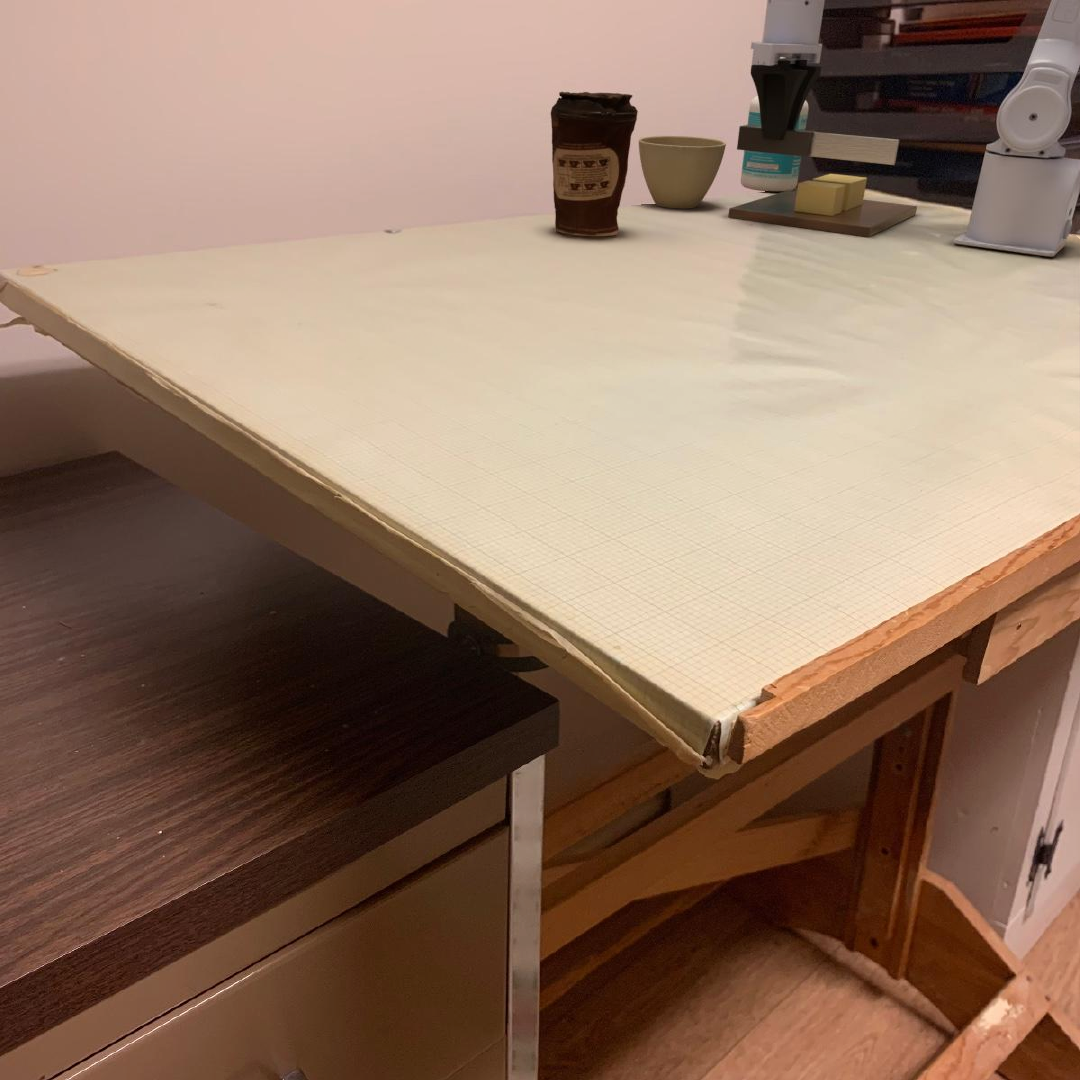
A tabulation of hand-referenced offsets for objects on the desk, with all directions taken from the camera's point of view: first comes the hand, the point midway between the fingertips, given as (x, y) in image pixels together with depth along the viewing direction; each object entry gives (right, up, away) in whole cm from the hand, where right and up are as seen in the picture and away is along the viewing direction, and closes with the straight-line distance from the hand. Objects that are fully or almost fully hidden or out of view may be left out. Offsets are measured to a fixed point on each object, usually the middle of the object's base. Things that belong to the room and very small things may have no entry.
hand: (776, 138), depth 107 cm
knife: (+3, -2, -1) cm, 4 cm away
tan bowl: (-10, -4, +10) cm, 14 cm away
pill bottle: (+5, +3, +24) cm, 25 cm away
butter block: (+9, -5, +8) cm, 12 cm away
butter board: (+7, -6, +7) cm, 12 cm away
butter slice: (+5, -7, +3) cm, 9 cm away
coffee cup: (-21, -12, -7) cm, 25 cm away
